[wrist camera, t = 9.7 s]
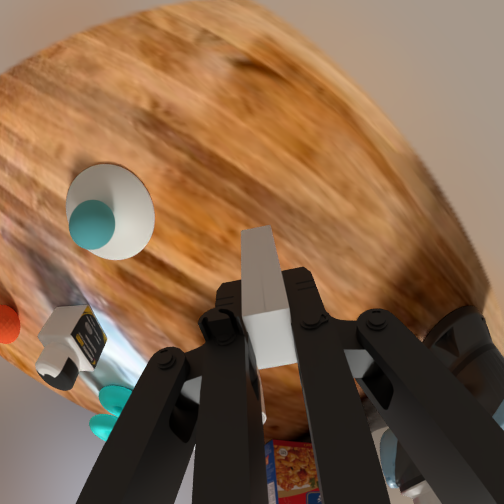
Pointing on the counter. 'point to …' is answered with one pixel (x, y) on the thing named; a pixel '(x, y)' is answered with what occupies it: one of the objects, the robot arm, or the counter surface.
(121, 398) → the donuts
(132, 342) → the counter surface
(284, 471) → the pasta box
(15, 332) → the clementine
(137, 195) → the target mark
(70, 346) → the medicine bottle
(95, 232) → the ball
